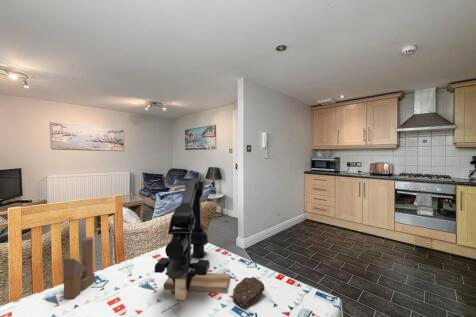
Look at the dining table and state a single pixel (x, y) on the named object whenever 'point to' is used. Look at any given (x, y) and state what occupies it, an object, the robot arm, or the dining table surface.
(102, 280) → the dining table surface
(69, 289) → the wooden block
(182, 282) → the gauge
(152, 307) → the dining table surface
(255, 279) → the brown rock
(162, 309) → the dining table surface
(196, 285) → the board
